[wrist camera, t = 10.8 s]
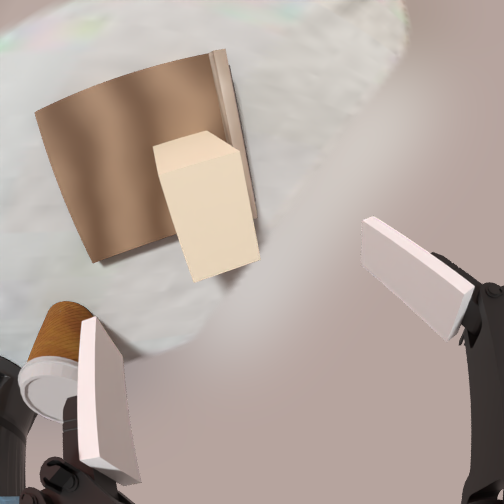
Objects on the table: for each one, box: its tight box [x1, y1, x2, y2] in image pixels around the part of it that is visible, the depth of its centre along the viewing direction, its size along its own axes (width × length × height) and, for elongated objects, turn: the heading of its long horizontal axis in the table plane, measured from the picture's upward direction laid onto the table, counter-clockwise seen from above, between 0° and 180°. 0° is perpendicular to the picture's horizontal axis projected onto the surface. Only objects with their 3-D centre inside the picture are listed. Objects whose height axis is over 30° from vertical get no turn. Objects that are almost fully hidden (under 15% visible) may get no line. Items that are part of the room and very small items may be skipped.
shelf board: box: [35, 49, 258, 263], centre depth 25 cm, size 17×16×4 cm
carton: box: [153, 131, 261, 283], centre depth 24 cm, size 8×5×10 cm, turn 11°
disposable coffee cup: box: [18, 301, 93, 424], centre depth 27 cm, size 10×10×12 cm
